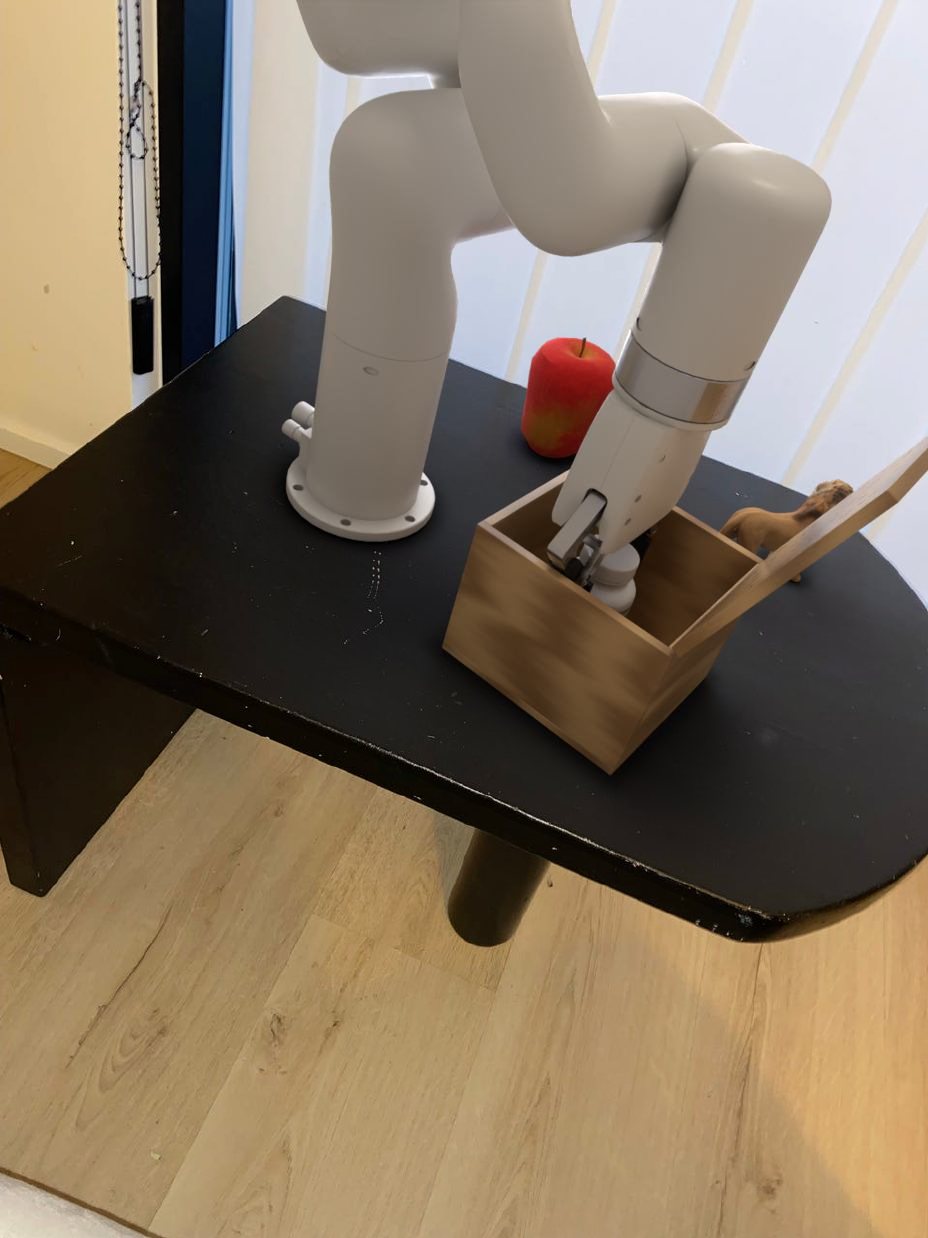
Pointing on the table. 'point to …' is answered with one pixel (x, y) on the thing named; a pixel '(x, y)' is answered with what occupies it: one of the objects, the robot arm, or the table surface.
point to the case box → (591, 625)
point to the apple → (565, 395)
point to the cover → (814, 542)
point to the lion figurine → (783, 520)
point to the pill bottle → (614, 577)
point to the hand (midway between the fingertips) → (586, 589)
